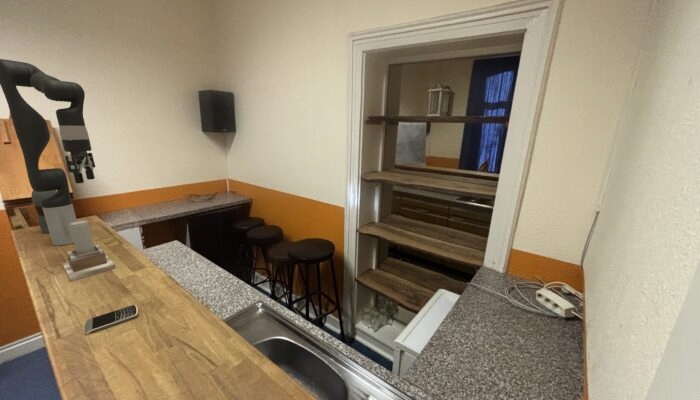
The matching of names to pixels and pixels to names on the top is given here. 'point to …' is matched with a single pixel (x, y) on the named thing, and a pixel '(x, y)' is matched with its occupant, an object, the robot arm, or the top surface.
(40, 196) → the bottle
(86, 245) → the beverage can
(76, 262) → the pedestal base
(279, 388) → the top surface
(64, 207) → the robot arm
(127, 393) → the top surface
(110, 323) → the cell phone
